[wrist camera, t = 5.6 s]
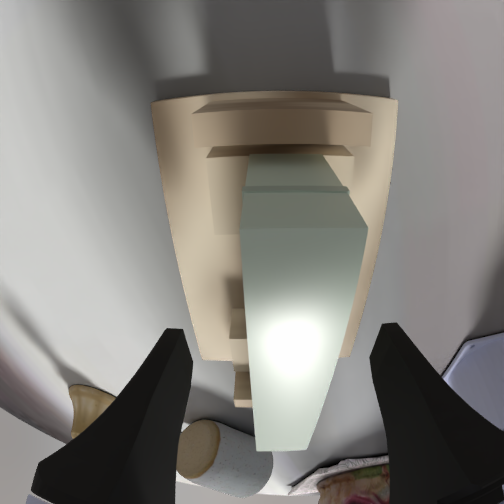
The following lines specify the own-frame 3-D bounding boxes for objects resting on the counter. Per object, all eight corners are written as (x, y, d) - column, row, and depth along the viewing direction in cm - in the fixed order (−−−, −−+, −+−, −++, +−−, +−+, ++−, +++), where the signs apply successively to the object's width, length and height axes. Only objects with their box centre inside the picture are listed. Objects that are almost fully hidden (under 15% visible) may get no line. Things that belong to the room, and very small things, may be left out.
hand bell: (87, 412, 30) (58, 518, 17) (57, 377, 25) (14, 501, 12) (145, 425, 30) (122, 542, 16) (121, 392, 25) (85, 537, 12)
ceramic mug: (218, 408, 25) (209, 482, 19) (275, 432, 28) (274, 495, 22) (159, 426, 30) (147, 483, 23) (212, 447, 33) (206, 499, 27)
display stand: (390, 98, 11) (445, 116, 7) (347, 347, 20) (359, 402, 16) (156, 100, 11) (109, 118, 7) (203, 350, 20) (194, 406, 16)
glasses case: (323, 152, 9) (371, 225, 5) (301, 370, 16) (307, 450, 12) (248, 152, 10) (236, 226, 5) (257, 371, 16) (255, 451, 12)
